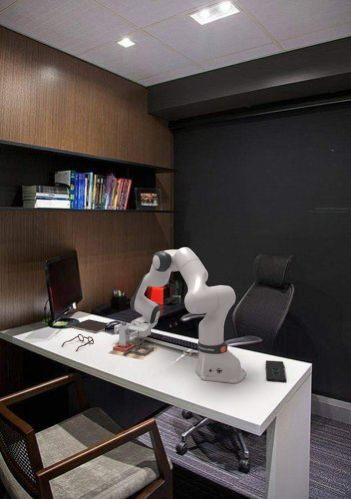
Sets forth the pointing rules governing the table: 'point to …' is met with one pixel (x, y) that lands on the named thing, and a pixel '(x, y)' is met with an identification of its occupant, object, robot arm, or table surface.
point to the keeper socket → (123, 348)
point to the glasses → (81, 340)
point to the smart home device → (275, 371)
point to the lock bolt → (124, 335)
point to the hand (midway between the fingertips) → (123, 334)
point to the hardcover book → (90, 326)
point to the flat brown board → (137, 351)
